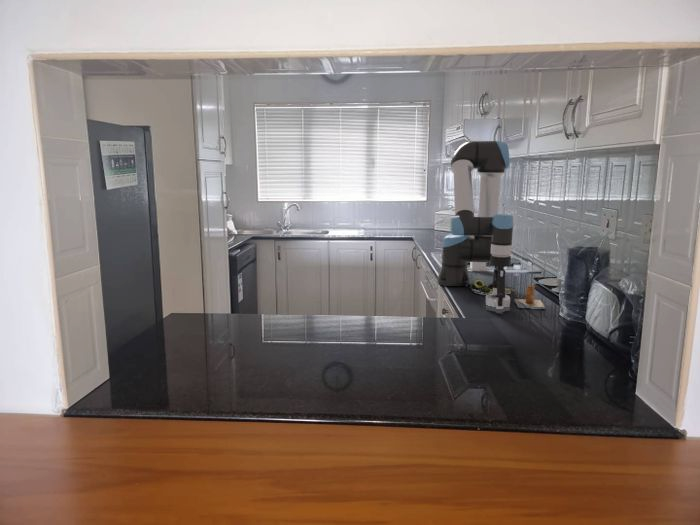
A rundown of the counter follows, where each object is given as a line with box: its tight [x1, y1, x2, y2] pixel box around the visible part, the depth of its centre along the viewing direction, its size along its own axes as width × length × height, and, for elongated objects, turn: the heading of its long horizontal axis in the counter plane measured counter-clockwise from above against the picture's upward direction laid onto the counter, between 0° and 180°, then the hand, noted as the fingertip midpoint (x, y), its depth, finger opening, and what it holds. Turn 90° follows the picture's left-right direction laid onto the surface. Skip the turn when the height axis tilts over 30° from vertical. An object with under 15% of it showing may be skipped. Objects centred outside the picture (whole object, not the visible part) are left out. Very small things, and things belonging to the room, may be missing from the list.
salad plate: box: [469, 278, 516, 295], centre depth 222 cm, size 19×18×5 cm
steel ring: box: [485, 293, 511, 308], centre depth 196 cm, size 9×9×5 cm
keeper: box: [514, 284, 546, 309], centre depth 200 cm, size 10×10×8 cm
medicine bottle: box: [469, 262, 487, 272], centre depth 264 cm, size 7×7×12 cm
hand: (497, 309), depth 196 cm, fingers open, 13 cm apart
